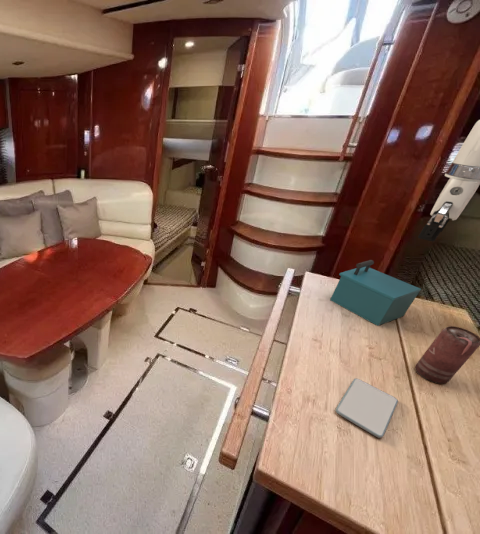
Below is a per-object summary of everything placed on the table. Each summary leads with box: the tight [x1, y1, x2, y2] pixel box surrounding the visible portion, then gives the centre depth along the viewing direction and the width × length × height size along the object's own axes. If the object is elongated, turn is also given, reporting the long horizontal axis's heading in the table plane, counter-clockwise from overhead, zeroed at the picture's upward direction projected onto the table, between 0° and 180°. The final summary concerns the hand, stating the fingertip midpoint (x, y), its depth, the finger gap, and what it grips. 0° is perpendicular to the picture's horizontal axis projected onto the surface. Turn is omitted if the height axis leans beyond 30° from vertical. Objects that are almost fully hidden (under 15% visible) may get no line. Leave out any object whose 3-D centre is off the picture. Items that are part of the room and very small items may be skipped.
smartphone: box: [335, 378, 399, 439], centre depth 70 cm, size 8×1×15 cm
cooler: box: [329, 276, 421, 327], centre depth 99 cm, size 15×13×10 cm
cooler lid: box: [338, 259, 422, 300], centre depth 96 cm, size 15×13×5 cm
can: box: [414, 325, 480, 385], centre depth 74 cm, size 6×6×14 cm
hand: (429, 234), depth 84 cm, fingers open, 9 cm apart
